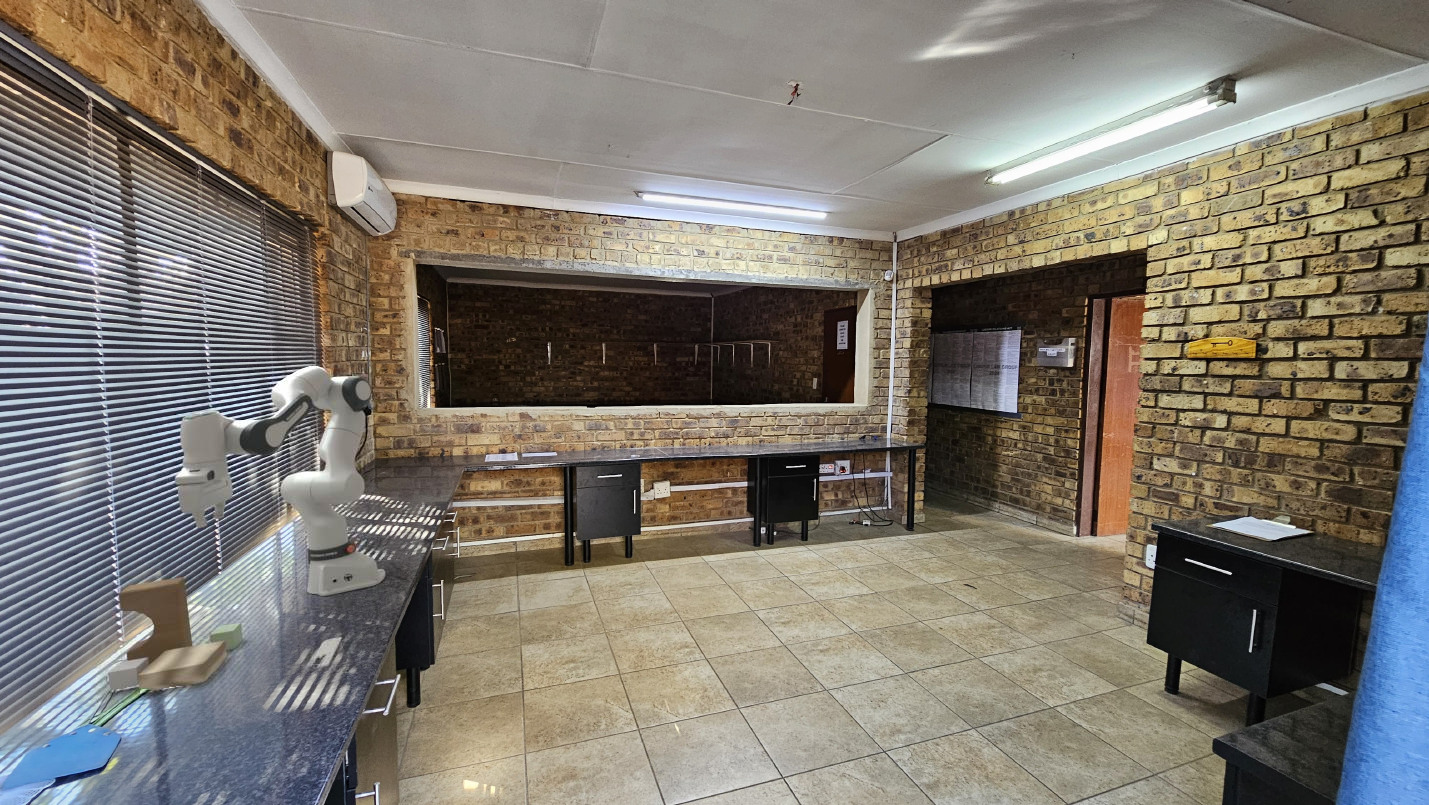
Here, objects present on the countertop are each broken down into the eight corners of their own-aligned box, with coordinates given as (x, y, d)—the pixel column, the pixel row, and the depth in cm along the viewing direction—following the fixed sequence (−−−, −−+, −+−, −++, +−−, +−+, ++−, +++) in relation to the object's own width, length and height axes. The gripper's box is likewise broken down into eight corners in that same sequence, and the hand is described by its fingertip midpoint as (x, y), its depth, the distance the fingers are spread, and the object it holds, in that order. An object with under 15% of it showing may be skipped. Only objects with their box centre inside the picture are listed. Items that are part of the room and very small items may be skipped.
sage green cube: (242, 640, 156) (240, 622, 156) (235, 648, 151) (233, 630, 151) (220, 644, 154) (218, 626, 154) (211, 653, 150) (209, 634, 149)
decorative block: (127, 670, 142) (117, 593, 140) (138, 660, 147) (128, 584, 145) (185, 659, 147) (176, 583, 145) (193, 649, 152) (185, 576, 150)
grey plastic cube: (150, 677, 139) (148, 657, 138) (138, 688, 134) (136, 667, 134) (123, 681, 137) (121, 662, 137) (110, 693, 133) (108, 672, 132)
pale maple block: (227, 659, 147) (225, 640, 146) (205, 683, 136) (203, 663, 135) (167, 669, 143) (165, 650, 142) (140, 696, 131) (137, 675, 131)
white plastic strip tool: (304, 672, 139) (303, 668, 139) (320, 644, 153) (320, 640, 153) (328, 667, 141) (328, 663, 141) (342, 640, 155) (342, 636, 155)
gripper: (210, 466, 162) (214, 514, 163) (170, 479, 143) (175, 533, 143) (237, 464, 164) (241, 512, 165) (202, 476, 145) (206, 530, 146)
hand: (210, 522), depth 154 cm, fingers open, 8 cm apart
